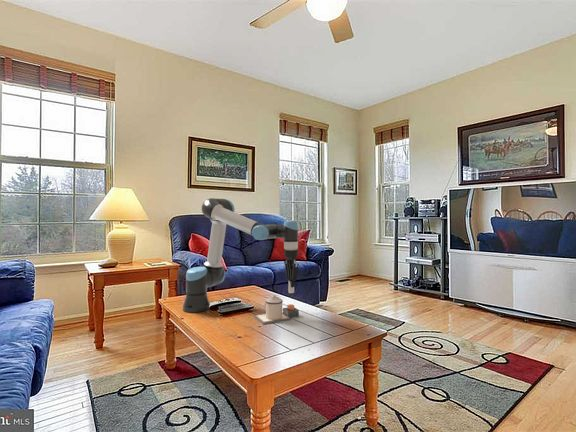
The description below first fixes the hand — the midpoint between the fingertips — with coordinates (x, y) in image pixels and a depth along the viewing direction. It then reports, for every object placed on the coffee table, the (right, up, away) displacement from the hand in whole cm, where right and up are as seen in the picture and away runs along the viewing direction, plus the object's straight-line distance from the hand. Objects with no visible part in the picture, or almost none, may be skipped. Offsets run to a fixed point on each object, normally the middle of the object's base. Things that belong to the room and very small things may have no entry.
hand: (291, 292), depth 174 cm
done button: (0, -10, 0) cm, 10 cm away
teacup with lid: (-10, -12, -5) cm, 16 cm away
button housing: (0, -12, 0) cm, 12 cm away
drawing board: (-10, -12, -5) cm, 17 cm away
